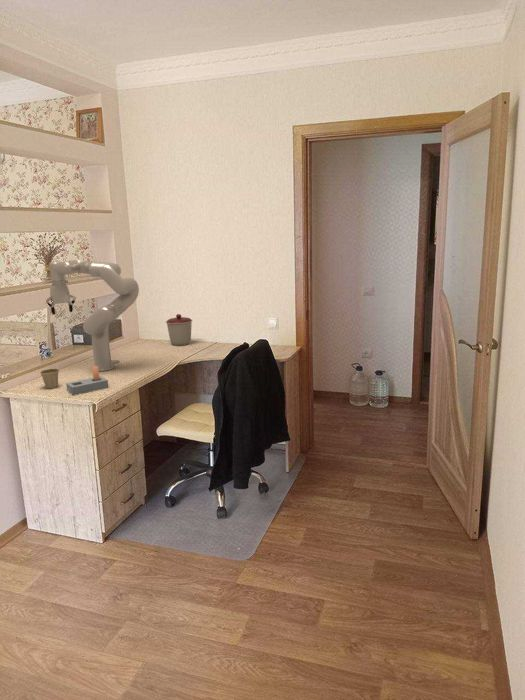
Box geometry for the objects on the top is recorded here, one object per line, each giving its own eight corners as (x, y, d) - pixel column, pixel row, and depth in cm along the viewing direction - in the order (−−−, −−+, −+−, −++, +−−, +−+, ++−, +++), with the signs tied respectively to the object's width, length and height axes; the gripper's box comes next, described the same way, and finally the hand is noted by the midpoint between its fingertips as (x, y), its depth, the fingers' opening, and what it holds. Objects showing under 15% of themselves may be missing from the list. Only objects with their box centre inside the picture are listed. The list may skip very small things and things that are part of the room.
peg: (99, 385, 277) (96, 365, 274) (101, 387, 274) (99, 366, 272) (93, 387, 275) (91, 366, 273) (95, 388, 273) (93, 367, 270)
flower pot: (38, 388, 277) (36, 372, 275) (54, 383, 285) (51, 367, 283) (49, 390, 272) (47, 374, 270) (65, 385, 280) (62, 369, 278)
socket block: (101, 383, 281) (100, 376, 280) (108, 387, 273) (107, 380, 272) (67, 390, 271) (66, 383, 270) (73, 395, 263) (72, 387, 262)
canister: (199, 342, 369) (197, 312, 364) (182, 348, 354) (180, 317, 349) (179, 340, 378) (177, 311, 373) (162, 345, 364) (159, 315, 359)
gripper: (71, 281, 310) (75, 310, 314) (41, 284, 300) (45, 314, 304) (76, 282, 304) (79, 311, 308) (44, 285, 294) (48, 315, 298)
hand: (62, 313), depth 306 cm, fingers open, 9 cm apart
